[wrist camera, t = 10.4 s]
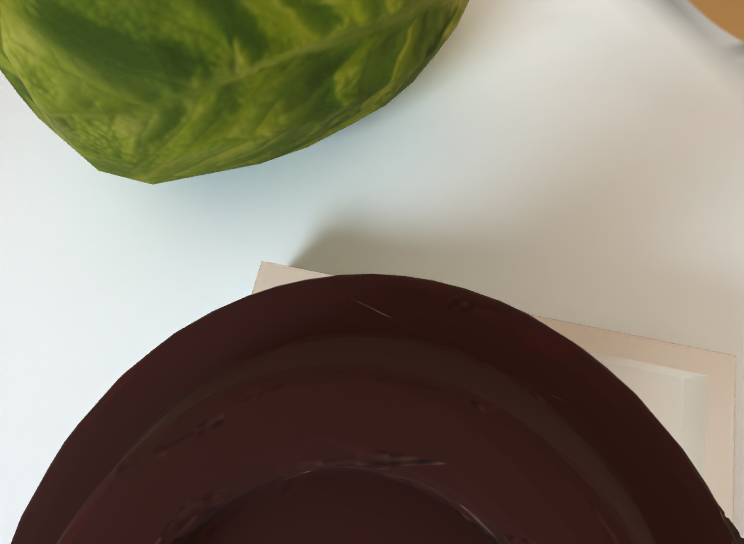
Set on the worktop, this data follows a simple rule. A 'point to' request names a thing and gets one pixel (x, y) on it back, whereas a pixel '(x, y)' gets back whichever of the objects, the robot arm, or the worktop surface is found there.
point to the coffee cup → (371, 433)
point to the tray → (644, 385)
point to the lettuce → (212, 74)
